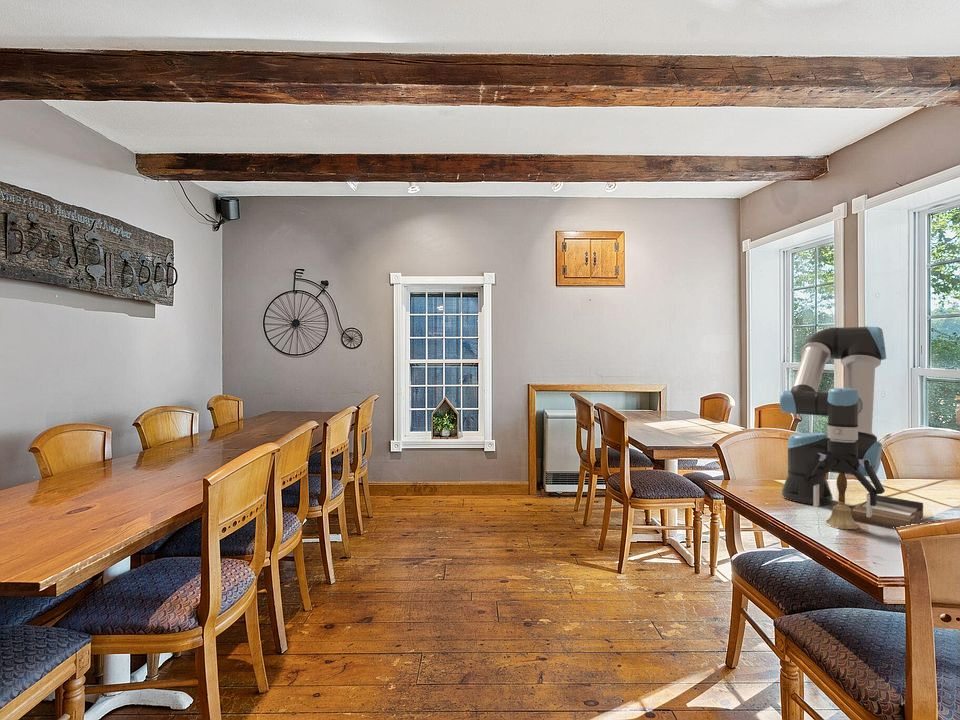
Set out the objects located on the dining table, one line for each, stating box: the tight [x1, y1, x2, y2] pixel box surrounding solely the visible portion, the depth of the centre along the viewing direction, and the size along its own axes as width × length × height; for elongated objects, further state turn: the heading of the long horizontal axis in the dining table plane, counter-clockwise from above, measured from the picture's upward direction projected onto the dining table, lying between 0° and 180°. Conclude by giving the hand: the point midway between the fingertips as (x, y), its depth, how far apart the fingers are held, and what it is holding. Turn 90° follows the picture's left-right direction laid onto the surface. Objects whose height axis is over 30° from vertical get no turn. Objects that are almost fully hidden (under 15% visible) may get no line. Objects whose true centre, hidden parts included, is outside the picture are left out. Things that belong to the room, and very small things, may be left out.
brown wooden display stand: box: [851, 494, 924, 529], centre depth 165 cm, size 18×14×5 cm
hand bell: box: [825, 472, 860, 530], centre depth 159 cm, size 8×8×16 cm
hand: (841, 511), depth 159 cm, fingers open, 13 cm apart
